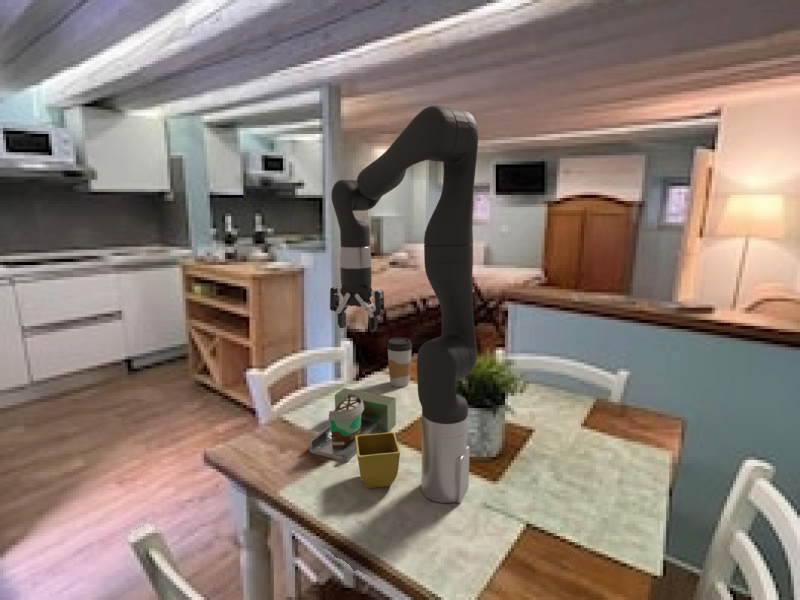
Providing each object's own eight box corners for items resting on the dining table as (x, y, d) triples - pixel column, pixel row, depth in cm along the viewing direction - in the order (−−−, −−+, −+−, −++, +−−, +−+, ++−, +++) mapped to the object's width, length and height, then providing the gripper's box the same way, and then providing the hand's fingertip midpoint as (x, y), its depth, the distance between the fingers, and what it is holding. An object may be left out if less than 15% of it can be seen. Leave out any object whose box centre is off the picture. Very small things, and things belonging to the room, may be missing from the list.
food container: (353, 454, 105) (352, 415, 103) (329, 450, 106) (328, 412, 104) (371, 429, 116) (371, 394, 114) (350, 426, 118) (349, 391, 116)
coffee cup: (417, 383, 149) (417, 340, 146) (400, 390, 143) (400, 346, 140) (399, 377, 155) (399, 335, 152) (382, 384, 149) (381, 341, 146)
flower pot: (358, 495, 91) (357, 456, 90) (356, 471, 100) (354, 434, 98) (400, 491, 93) (400, 452, 91) (394, 467, 101) (394, 431, 99)
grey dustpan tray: (395, 425, 121) (395, 397, 119) (357, 465, 102) (356, 433, 101) (345, 414, 127) (344, 388, 126) (300, 449, 109) (298, 419, 107)
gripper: (388, 264, 108) (389, 328, 112) (339, 261, 114) (341, 323, 118) (374, 268, 102) (375, 336, 105) (322, 265, 108) (325, 330, 111)
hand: (357, 329), depth 111 cm, fingers open, 8 cm apart
